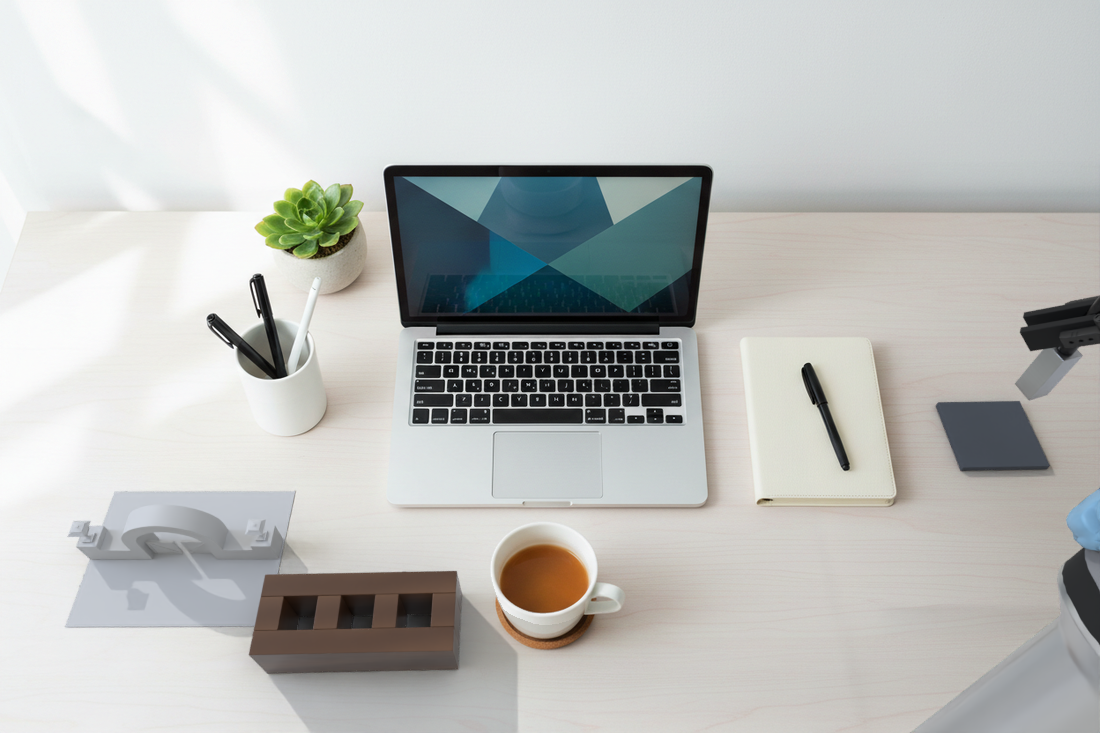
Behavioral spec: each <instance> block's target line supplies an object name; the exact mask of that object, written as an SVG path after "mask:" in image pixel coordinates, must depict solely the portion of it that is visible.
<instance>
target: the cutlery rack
mask: <svg viewBox="0 0 1100 733" xmlns="http://www.w3.org/2000/svg"><path fill="white" fill-rule="evenodd" d="M459 578H460V577H459V573H458V570H432V571H431V570H430V571H429V570H427V571H377V572H375V571H374V572H335V573H334V572H326V573H324V572H323V573H321V572H320V573H278V574H266V575H265V578H264V583H263V587H262V592H261V597H260V602H259V607H258V612H257V617H256V621H255V626H253V631H252V632H253V633H252V635H251V636H252V637H251V642H250V646H249V651H248V657H250V658H251V659H252V660H253V662H255V663H256V664H257V665H258V666H259V667H260V668H261V669H262V670H263V671H264V672H265V673H266V674H268V675H272V674H275V675H279V674H280V675H281V674H315V673H317V674H319V673H321V674H322V673H323V674H325V673H363V672H366V673H367V672H369V673H371V672H408V671H410V672H411V671H412V672H414V671H416V672H417V671H455V670H459V668H460V650H461V649H460V648H461V647H460V646H461V645H460V644H461V626H462V625H461V624H462V623H461V622H462V605H463V604H462V603H463V592H462V587H461V583H460V579H459ZM408 616H430V626H425V627H424V626H423V627H422V626H421V627H420V626H419V627H407V625H408ZM354 617H372V623H371V628H370V627H367V628H353V623H354ZM300 618H314V620H313V626H312V629H299V623H300Z"/></svg>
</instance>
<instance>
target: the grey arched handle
mask: <svg viewBox="0 0 1100 733" xmlns="http://www.w3.org/2000/svg"><path fill="white" fill-rule="evenodd" d="M91 522H92V520H73V521H72V524H71V526H70V529H69V531H68V532H67V533H68V534H67V535H66V538H78V540H77V543H76V545H75V548H76V549H77V550H79V551H80V552H81V553H82V554H83V555H84V556H85V557H87V558H88V559H89V560H153V559H154V556H155V555H173V554H183V553H184V551H183V549H182V548H181V547H180V546H179V545H178V544H177V543H176V542H175V541H174V540H160V538H159V537H158V536H157V535H156V534H155V533H168V534H175V535H181V536H186V537H189V538H193V539H181V540H180V541H179V543H180V544H181V545H182V546H183V547H184V548H185V550H186V551H187V552H188V553H189V554H212V555H213V556H214V558H215V559H216V560H279V559H280V558H281V559H282V556H283V551H284V545H285V541H286V537H285V538H284V537H283V536H282V534H281V533H280V531H279V529H278V528H277V526H276V525H275V524H266V522H267V519H266V518H249V519H248V520H247V524H246V528H232V529H229V528H228V527H227V526H226V525H225V523H224V522H223V521H222V520H221V519H220V518H218V517H217V516H215V515H213V514H211V513H209V512H206V511H204V510H200V509H197V508H193V507H189V506H183V505H177V504H165V503H158V504H148V505H144V506H140V507H137V508H135V509H133V510H132V511H131V512H130V513H129V514H128V516H127V519H126V522H125V525H124V528H123V529H108V528H106V527H105V526H104V525H91Z"/></svg>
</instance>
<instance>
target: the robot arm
mask: <svg viewBox="0 0 1100 733" xmlns="http://www.w3.org/2000/svg"><path fill="white" fill-rule="evenodd" d="M1099 296H1100V294H1099V295H1095V296H1090V297H1085V298H1079V299H1073V300H1070V301H1068V302H1065V303H1064V304H1061V305H1056V306H1050V307H1044V308H1041V309H1034V310H1029V311H1024V312H1023V316H1022V318H1023V321H1024V322H1025V323H1026V326H1022V327H1020V330H1019V334H1020V336H1021V338H1022V339H1023V341H1024V343H1025V345H1026V347H1027V348H1028V351H1029V352H1035V351H1042V350H1043V349H1049V348H1055V347H1062V346H1064V348H1075V347H1079V348H1081V347H1087V346H1093V345H1100V314H1097V315H1096V314H1093V315H1088V316H1083V315H1084V314H1085V312H1086V311H1087V310H1088V309H1089V308H1090V307H1091V305H1092V304H1093V303H1094V302H1095V301H1096V300H1097V298H1098V297H1099ZM1065 522H1066V526H1067V528H1068V529H1069V530H1070V531H1071V533H1072V537H1073V540H1074V541H1075V542H1076V543H1077V544H1078V545H1079V546H1081V548H1080V549H1079V550H1078V551H1077V552H1076V553H1074V554H1073V555H1072V556H1071V557H1070V558H1069V559H1067V560H1066V561H1065V562H1063V564H1061V565H1060V567H1059V568H1058V570H1057V576H1056V582H1057V591H1058V592H1057V593H1058V600H1059V601H1058V604H1059V612H1060V614H1059V616H1057V617H1056V618H1055V619H1054V620H1052V621H1051V622H1050V623H1048V624H1046V625H1045V627H1043V628H1042V629H1040V630H1039V631H1038V632H1036V633H1035V634H1034V635H1033V636H1032V637H1030V638H1029V639H1027V640H1026V641H1025V642H1024V643H1023V644H1021V645H1020V646H1019V647H1017V648H1016V649H1015V650H1014V651H1012V652H1011V653H1010V654H1009V655H1007V656H1006V657H1005V658H1004V659H1002V660H1001V661H999V662H998V663H997V664H996V665H995V666H993V667H992V668H991V669H989V670H988V671H987V672H986V673H985V674H983V675H982V676H981V677H980V678H978V679H977V680H975V681H974V682H973V683H971V684H970V685H969V686H968V687H966V688H965V689H964V690H963V691H962V692H960V693H958V694H957V695H956V696H955V697H953V698H952V699H951V700H950V701H949V702H947V703H946V704H945V705H944V706H942V707H941V708H939V710H937V711H936V712H934V713H933V714H932V715H931V716H929V717H928V718H927V719H925V720H924V721H923V722H922V723H921V724H919V725H918V726H916V727H915V728H914V729H913V730H912V731H910V732H909V733H1100V487H1099V488H1097V489H1096V490H1095V491H1094V492H1092V493H1091V494H1089V495H1088V496H1086V497H1085V498H1084V499H1083V500H1081V502H1079V503H1078V504H1077V505H1076V506H1074V507H1073V508H1072V509H1071V510H1070V511H1069V512H1068V514H1067V516H1066V519H1065Z"/></svg>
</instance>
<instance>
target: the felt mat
mask: <svg viewBox="0 0 1100 733" xmlns="http://www.w3.org/2000/svg"><path fill="white" fill-rule="evenodd" d="M935 409H936V411H937V414H938V417H939V419H940V421H941V423H942V427H943V428H944V431H945V435H946V437H947V439H948V442H949V444H950V447H951V450H952V453H953V455H954V457H955V460H956V464H957V465H958V468H959V470H960V471H961V472H970V471H971V472H974V471H976V472H978V471H979V472H980V471H982V472H983V471H1023V470H1024V471H1029V470H1030V471H1031V470H1032V471H1033V470H1034V471H1035V470H1037V471H1039V470H1048V468H1050V467H1051V465H1050V463H1049V461H1048V459H1047V456H1046V454H1045V452H1044V450H1043V448H1042V446H1041V443H1040V442H1039V439H1038V437H1037V434H1036V433H1035V430H1034V428H1033V426H1032V424H1031V422H1030V419H1029V418H1028V416H1027V414H1026V412H1025V409H1024V407H1023V405H1022V403H1021V401H1020V400H996V401H995V400H994V401H993V400H992V401H991V400H988V401H986V400H985V401H940V402H939V401H937V403H936V404H935Z"/></svg>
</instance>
